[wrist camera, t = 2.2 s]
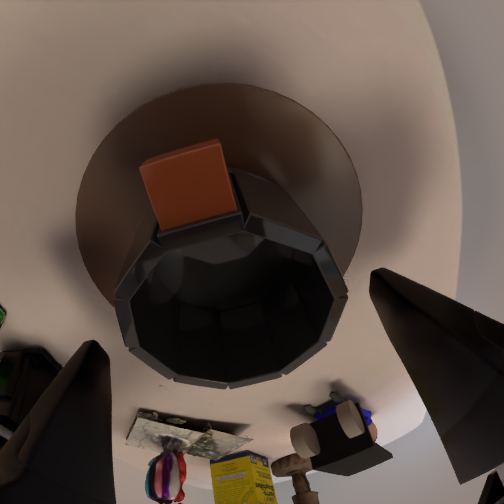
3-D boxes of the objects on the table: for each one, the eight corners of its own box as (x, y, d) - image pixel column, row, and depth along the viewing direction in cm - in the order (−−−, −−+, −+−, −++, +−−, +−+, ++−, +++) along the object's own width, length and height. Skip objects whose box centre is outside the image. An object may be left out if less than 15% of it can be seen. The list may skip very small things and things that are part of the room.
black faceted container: (310, 287, 14) (345, 358, 10) (172, 322, 13) (169, 400, 10) (285, 109, 9) (341, 122, 5) (100, 161, 9) (43, 208, 5)
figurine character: (274, 397, 24) (334, 436, 30) (287, 466, 18) (348, 483, 24) (337, 364, 23) (379, 413, 29) (365, 434, 16) (399, 459, 22)
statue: (128, 430, 25) (109, 542, 12) (142, 398, 21) (117, 552, 8) (216, 453, 28) (216, 559, 15) (253, 427, 24) (260, 564, 11)
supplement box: (268, 457, 32) (283, 522, 23) (231, 466, 32) (242, 529, 23) (248, 449, 29) (263, 525, 19) (208, 459, 29) (218, 530, 20)
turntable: (351, 296, 17) (359, 309, 16) (148, 347, 16) (147, 362, 15) (336, 64, 10) (349, 62, 9) (46, 146, 9) (33, 152, 8)
